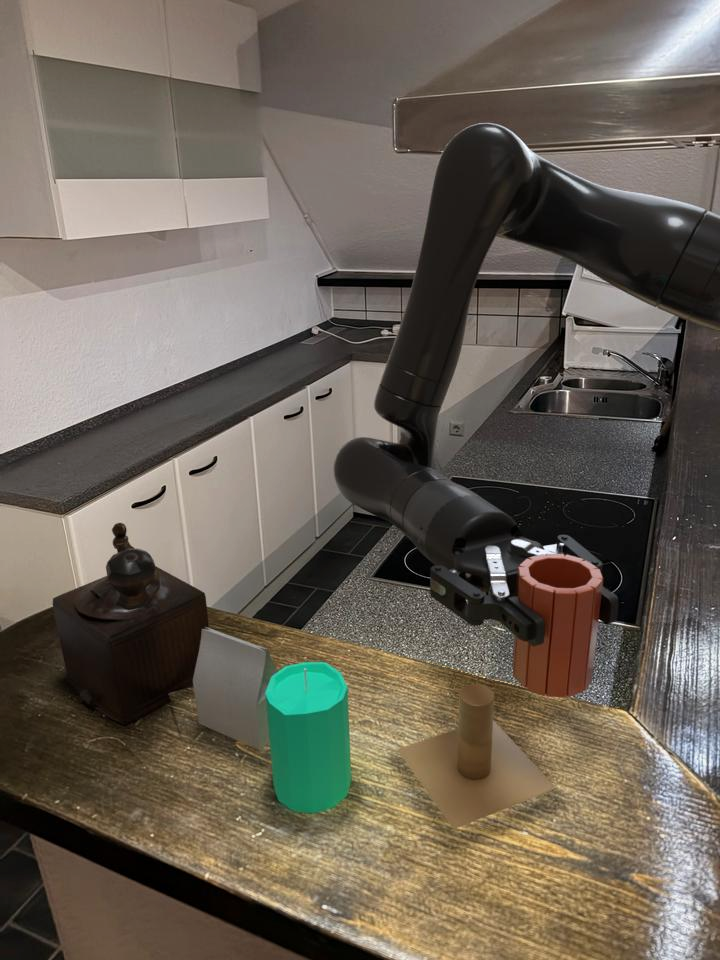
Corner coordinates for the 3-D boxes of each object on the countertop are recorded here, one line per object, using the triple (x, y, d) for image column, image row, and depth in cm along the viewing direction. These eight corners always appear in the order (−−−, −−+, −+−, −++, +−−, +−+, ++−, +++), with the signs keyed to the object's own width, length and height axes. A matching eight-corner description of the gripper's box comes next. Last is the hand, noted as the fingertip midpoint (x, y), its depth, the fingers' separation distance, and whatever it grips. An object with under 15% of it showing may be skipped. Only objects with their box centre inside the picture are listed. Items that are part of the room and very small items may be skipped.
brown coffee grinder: (58, 685, 73) (21, 515, 67) (156, 635, 81) (132, 478, 74) (149, 760, 63) (117, 570, 57) (251, 696, 71) (234, 521, 64)
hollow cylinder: (558, 643, 64) (567, 547, 60) (607, 684, 58) (620, 581, 55) (497, 662, 61) (502, 563, 58) (543, 706, 56) (551, 600, 53)
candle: (299, 761, 63) (290, 637, 58) (365, 783, 60) (360, 656, 56) (259, 812, 58) (246, 682, 54) (329, 839, 56) (321, 705, 51)
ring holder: (490, 730, 66) (494, 647, 63) (555, 803, 58) (563, 712, 55) (396, 763, 62) (395, 677, 59) (452, 844, 55) (455, 751, 52)
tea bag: (261, 764, 63) (252, 663, 59) (200, 736, 66) (187, 638, 62) (288, 737, 66) (280, 639, 62) (228, 712, 69) (217, 617, 65)
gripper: (388, 509, 66) (497, 602, 51) (527, 480, 71) (661, 557, 57) (389, 585, 69) (492, 693, 54) (522, 552, 74) (648, 642, 60)
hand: (577, 623), depth 56 cm, fingers closed on hollow cylinder, 6 cm apart
